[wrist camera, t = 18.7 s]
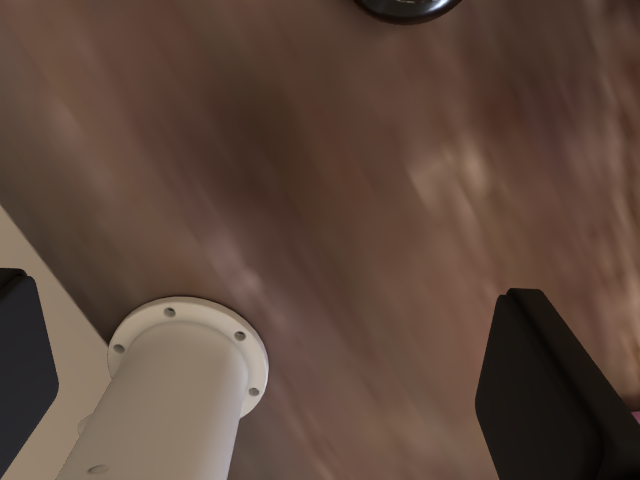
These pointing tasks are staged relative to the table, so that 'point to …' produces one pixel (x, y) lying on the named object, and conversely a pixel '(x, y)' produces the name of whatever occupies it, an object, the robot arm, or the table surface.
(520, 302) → the robot arm
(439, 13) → the supplement bottle
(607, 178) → the table surface
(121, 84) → the table surface
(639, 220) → the table surface
